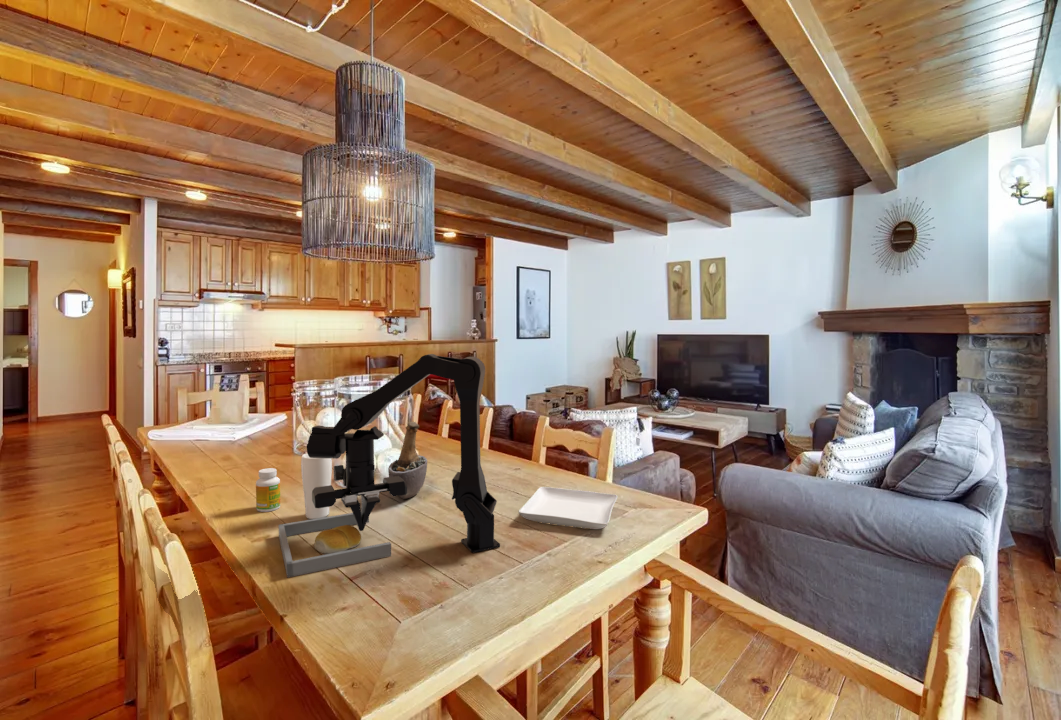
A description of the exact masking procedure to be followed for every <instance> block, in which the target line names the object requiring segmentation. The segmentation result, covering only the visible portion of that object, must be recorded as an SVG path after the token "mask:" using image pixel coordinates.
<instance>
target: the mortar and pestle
mask: <svg viewBox="0 0 1061 720" xmlns="http://www.w3.org/2000/svg"><path fill="white" fill-rule="evenodd" d="M419 428H420V424H419V423H417V422H416V421H408V422H407V425H406V427H405V430H406V431H405V435H404V437H403V438H404V439H403V443H402V444H403V445H402V447H401V451H400V454H399V457H398V459H395V460H394V461H393V462H391V463H390V464H389V465H388V470H387V472H388V477H395V476H399V477H400V478H402V479H403V480H404V481H405V482H406V484H407V494H406V495H400V496H398V497H399V498H400V499H403V500H407V499H410V498H413V497H414V496H416V495H417V494H418V493H420V491H421V488H422V487H423V486H424V484H425V480H426V477H427V469H428V459H427V457H425V456H423V455H419V454H418V453H417V450H416V441H417V440H416V438H417V432H418V429H419Z"/></svg>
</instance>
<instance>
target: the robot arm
mask: <svg viewBox="0 0 1061 720" xmlns="http://www.w3.org/2000/svg"><path fill="white" fill-rule="evenodd" d="M430 375H432V376H436V377H439V378H444V379H447V380H453V383H454V387H455V388H454V389H455V392H456V395H457V397H458V400H459V410H460V411H459V420H460V421H459V423H460V424H459V426H460V427H459V429H460V471H457V472H456V474H455V475H454V476H453V478H452V479H451V485H452V491H453V492H452V497H451V500H452V501H453V500H454V503H455V506H456V508H457V509H458V510H459V511H460V512H462V515H463V517H464V520H465V522H466V524H467V525H466V537H465V538H461V540H460V542H461V543H462V544H463V545H464V547H466V548H467V549H468V550H469V552H470V553H474V554H475V553H477V552H478V553H479V552H483V551H487V550H488V551H489V550H491V549H497V548H500V547H501V543H500V542H499V541H497V540H496V539H495V514H494V511H495V508H496V505H497V503H498V501H497V499H496V498H495V497H494V496H493V495H492V494H491V493H490V492H489V491H488V488H487V484H486V483H487V482H486V478H485V474H484V471H483V469H482V468H483V467H482V465H481V464H482V462H481V420H480V419H481V413H480V409H481V408H480V402H481V401H480V400H481V395H482V393H483V387H484V382H485V381H484V379H485V375H486V367H485V364H484V362H483V361H482V359H480V358H478V357H476V356H467V357H465V358H458V357H457V358H456V357H449V356H442V355H436V354H435V353H428V354H425V355H423V356H420V358H419V359H418V360H417V361H416V362H414V363H413V364H411V365H410V366H409V367H407V368H406V369H405V370H403V371H402V372H400V373H399V374H397V375H396V376H395V377H393V378H392V379H390V380H389V381H387V382H386V383H385V384H383V385H382V386H380V387H379V388H378V389H377V390H375V391H372V392H370V393H368V394H366V395H364V396H361V397H360V398H357V399H356V400H353V401H351V402H349V403H347V404H345V405H344V406H343V407H342V409H341V413H340V419H338V421H337V423H336V424H335V425H334V426H324V425H315V426H313V427H311V433H310V434H309V436H308V441H307V443H306V453H308V456H309V457H310V458H332V459H336V460H337V459H340V458H341V456H342V455H344V454H345V468H344V465H343V464H340V465H334V466H333V481H335V482H337V481H342V485H343V486H344V487H345V488H339V489H335V488H334V487H333V485H332V484H331V485H330V486H322V487H315V488H314V489H313V491H312V501H313V504H314V506H315V508H324V507H329V508H330V507H333V505H335V503H337V500H341V502H342V504H343V506H344V508H350V510H351V513H353V515H354V517H355V520H356V523H357V524H356V525H357V529H358V531H359V532H363V531H364V530H365V527H366V525H367V523H368V522H367V520H368V518H369V519H370V515H371V513H372V512H373V509H374V508H375V506H376V504H378V503H380V502H381V499H380V497H379V496H380V493H385V492H389V493H388V494H389V495H391V496H392V497H399V496H400V495H406V494H407V484H406V482H405V481H404V480H403V479H402V478H400V477H399V476H395V477H389V476H388V477H383V479H382V482H379V483H375V470H376V469H375V466H376V465H375V441H377V440H379V439H380V438H382V437H384V435H385V433H384V432H383V431H381V430H380V429H379V428H378V427H377V426H376V425H374V426H373V427H371V428H370V429H362V428H365V427H366V426H368V425H370V424H372V423H373V422H374V421H375V420H376V419H377V418H378V417H379V416H380V415H381V414H383V412H384V411H385V409H386V408H387V407H388V406H389V405H390V404H391V403H392V402H394V400H396V399H397V398H399V397H400V396H402V395H403V394H405V393H406V392H408V391H409V390H410V389H412V388H413V387H415V386H416V385H418V383H420V382H422V381H423V380H424V379H426V378H427V377H429V376H430ZM352 430H354V431H355V432H354V433H347V432H349V431H352ZM359 496H360V497H361V499H360V500H361V502H360V501H359V499H358V498H359Z"/></svg>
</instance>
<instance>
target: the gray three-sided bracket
mask: <svg viewBox="0 0 1061 720" xmlns="http://www.w3.org/2000/svg"><path fill="white" fill-rule="evenodd" d="M369 522H370V517H369V518H368V520H367V523H369ZM344 525H351V526H354V525H357V523H356V520H355V517H354V515H353V512H349V513H348V512H347V513H342V514H337V515H331V516H326V517H324V518H317V519H306V520H300V521H294V522H293V521H292V522H288V523H283V524H282V523H281V524H278V539H279V544H280V550H281V553H282V554H281V555H282V559H283V563H284V568H285V573H286V578H292V577H297V576H298V577H299V576H302V575H307V574H311V573H316V572H321V571H325V570H331V569H335V568H336V569H337V568H340V567H344V566H350V565H354V564H359V563H363V562H368V561H369V562H370V561H373V560H379V559H383V558H387V557H391V556H392V543H391V542H390V541H388V542H383V543H377V544H373V545H372V544H371V545H367V546H363V547H358V548H351V549H347V550H345V551H341V552H336V553H331V554H322V555H317V556H311V557H308V558H307V557H306V558H301V559H296V560H293V557H292V553H291V549H290V546H289V541H288V537H291V536H296V535H297V536H298V535H302V534H303V535H304V534H307V533H308V534H309V533H314V532H319V531H320V532H321V531H325V530H329V529H331V528H332V529H333V528H335V527H339V526H344Z"/></svg>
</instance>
